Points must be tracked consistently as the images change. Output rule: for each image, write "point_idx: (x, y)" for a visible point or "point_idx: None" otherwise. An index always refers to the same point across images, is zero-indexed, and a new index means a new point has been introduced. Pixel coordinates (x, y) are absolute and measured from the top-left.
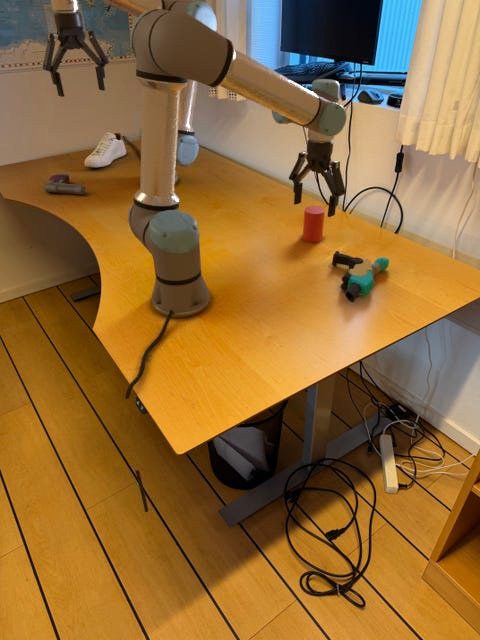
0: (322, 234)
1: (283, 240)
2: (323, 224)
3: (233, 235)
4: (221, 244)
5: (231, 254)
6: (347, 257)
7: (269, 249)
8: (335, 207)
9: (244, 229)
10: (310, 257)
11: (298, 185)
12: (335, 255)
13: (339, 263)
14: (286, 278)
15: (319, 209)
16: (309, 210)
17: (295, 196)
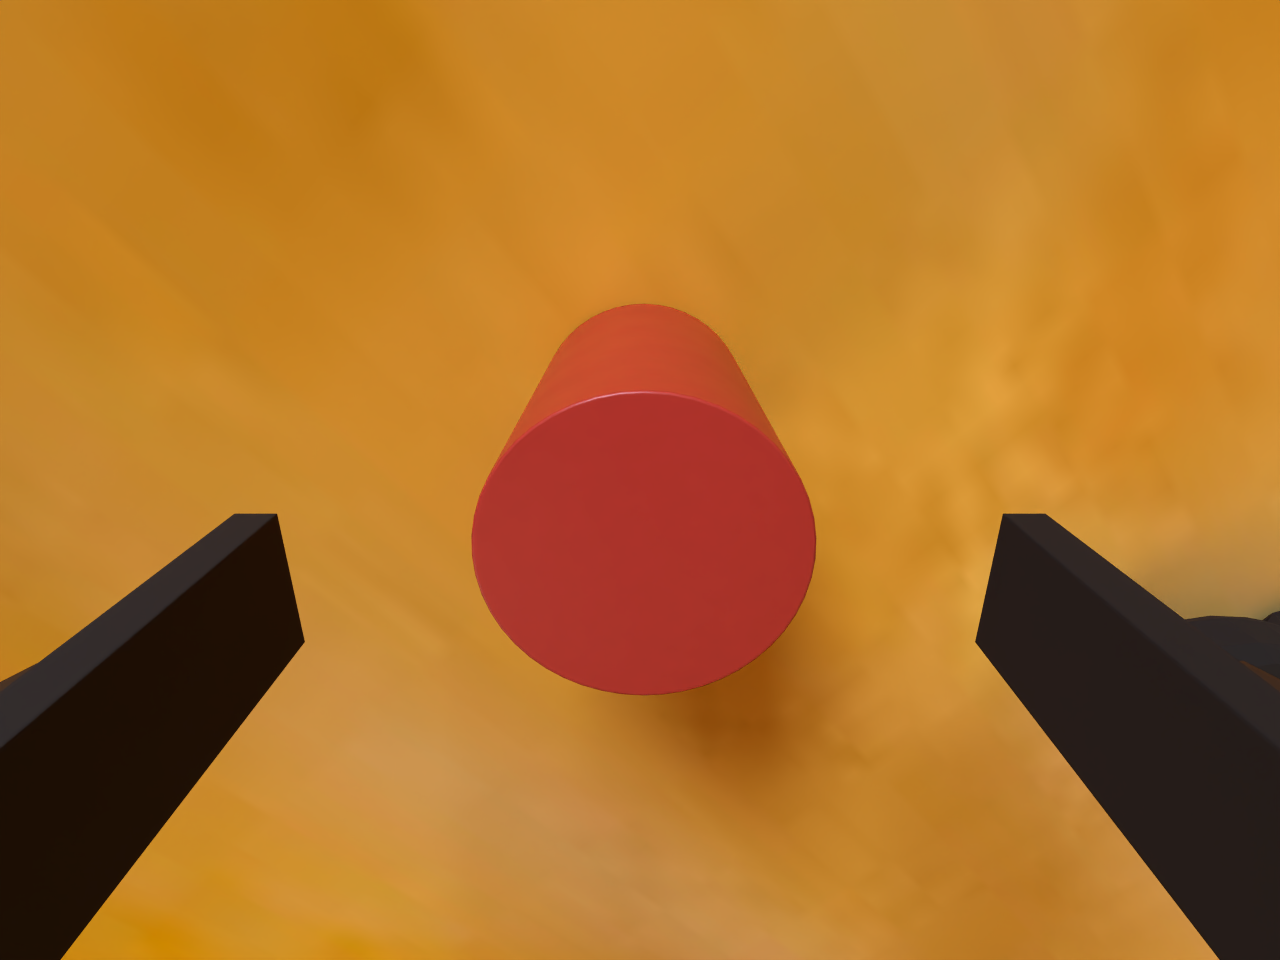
0: (739, 368)
1: (491, 615)
2: (755, 397)
3: None
4: (257, 917)
5: (422, 950)
6: None
7: (535, 777)
8: (1135, 592)
9: None
10: (856, 674)
11: (22, 929)
12: None
13: None
14: (888, 930)
15: (695, 496)
16: (604, 632)
17: (206, 741)
